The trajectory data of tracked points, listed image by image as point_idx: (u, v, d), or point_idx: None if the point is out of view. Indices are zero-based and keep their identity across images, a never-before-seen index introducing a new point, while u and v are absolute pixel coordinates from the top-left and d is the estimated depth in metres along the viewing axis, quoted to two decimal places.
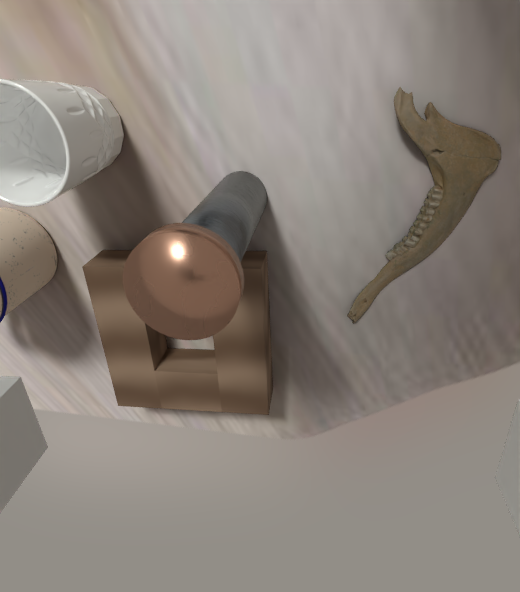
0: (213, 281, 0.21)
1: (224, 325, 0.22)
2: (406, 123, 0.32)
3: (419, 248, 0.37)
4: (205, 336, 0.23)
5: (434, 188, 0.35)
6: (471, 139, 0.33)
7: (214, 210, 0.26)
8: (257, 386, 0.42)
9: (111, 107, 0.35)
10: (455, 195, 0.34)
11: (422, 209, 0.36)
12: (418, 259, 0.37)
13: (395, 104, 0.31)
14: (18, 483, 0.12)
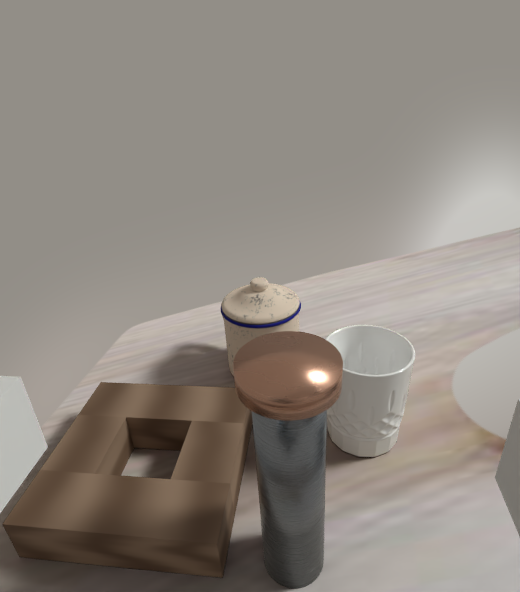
0: (294, 381, 0.22)
1: (245, 383, 0.22)
2: None
3: None
4: (235, 370, 0.23)
5: None
6: None
7: (325, 453, 0.26)
8: (54, 516, 0.32)
9: (382, 450, 0.40)
10: None
11: None
12: None
13: None
14: (18, 483, 0.12)
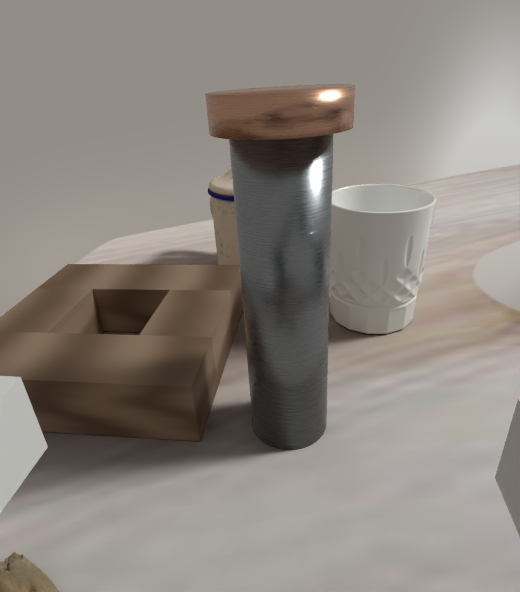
0: (288, 90, 0.16)
1: (220, 95, 0.16)
2: None
3: None
4: (208, 94, 0.17)
5: None
6: None
7: (329, 244, 0.20)
8: None
9: (395, 325, 0.33)
10: None
11: None
12: None
13: None
14: (18, 483, 0.12)
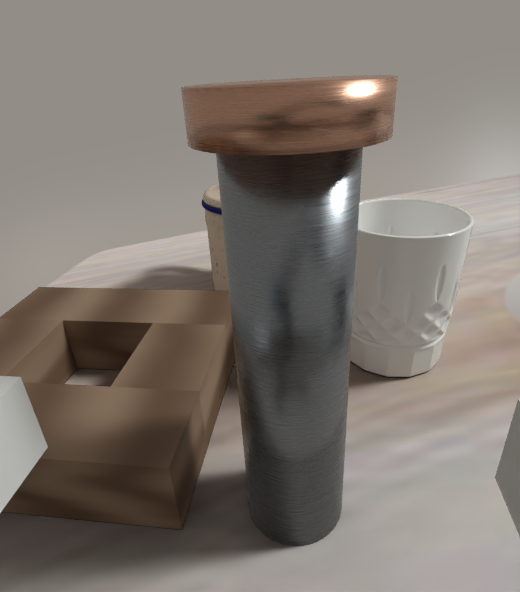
0: (302, 82, 0.11)
1: (199, 88, 0.11)
2: None
3: None
4: (184, 87, 0.12)
5: None
6: None
7: (353, 293, 0.15)
8: None
9: (421, 367, 0.28)
10: None
11: None
12: None
13: None
14: (18, 483, 0.12)
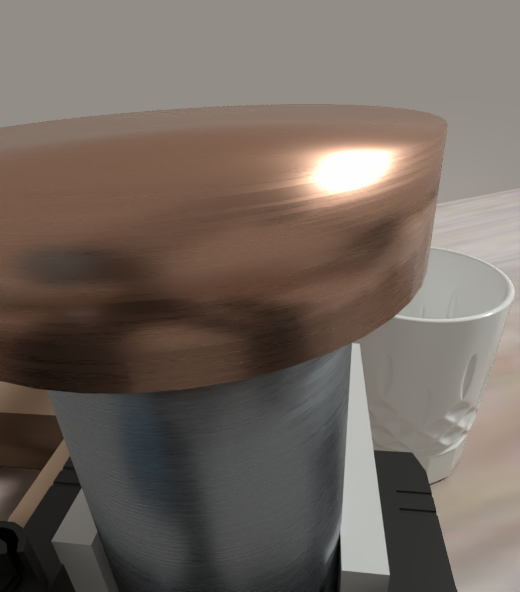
0: (169, 151, 0.04)
1: None
2: None
3: None
4: None
5: None
6: None
7: (340, 526, 0.07)
8: None
9: (438, 474, 0.21)
10: None
11: None
12: None
13: None
14: None
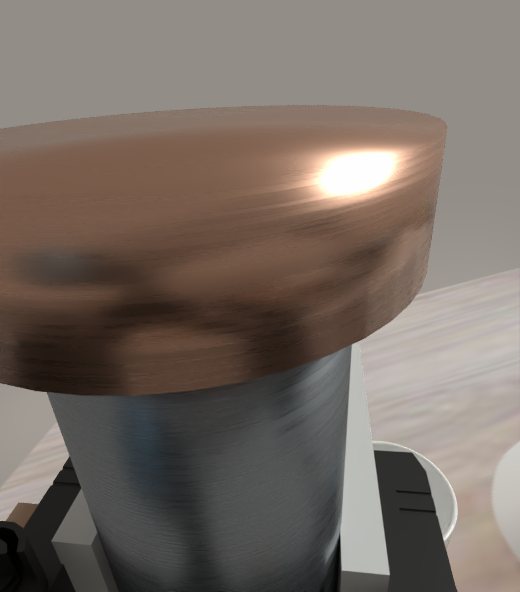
0: (169, 152, 0.04)
1: None
2: None
3: None
4: None
5: None
6: None
7: (340, 526, 0.07)
8: None
9: None
10: None
11: None
12: None
13: None
14: None
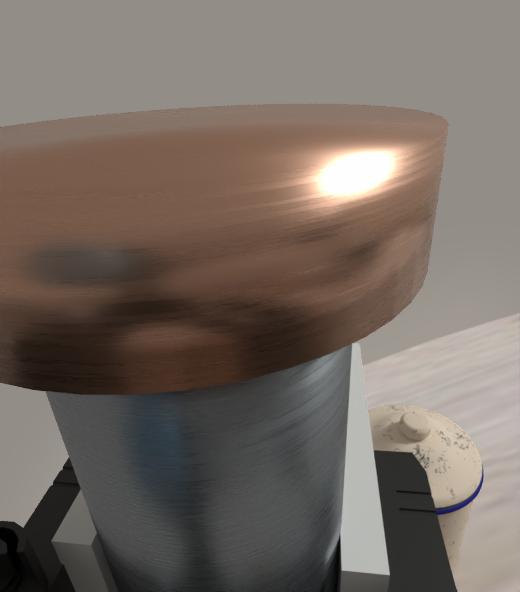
0: (169, 150, 0.04)
1: None
2: None
3: None
4: None
5: None
6: None
7: (340, 526, 0.07)
8: None
9: None
10: None
11: None
12: None
13: None
14: None
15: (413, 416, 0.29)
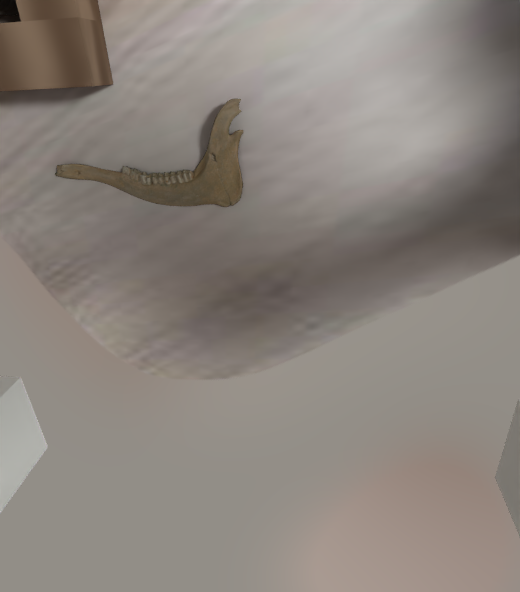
0: None
1: None
2: (219, 120, 0.38)
3: (143, 189, 0.42)
4: None
5: (190, 172, 0.41)
6: (233, 176, 0.41)
7: None
8: None
9: None
10: (193, 190, 0.42)
11: (172, 173, 0.42)
12: (135, 193, 0.43)
13: (227, 102, 0.37)
14: (18, 482, 0.12)
15: None
